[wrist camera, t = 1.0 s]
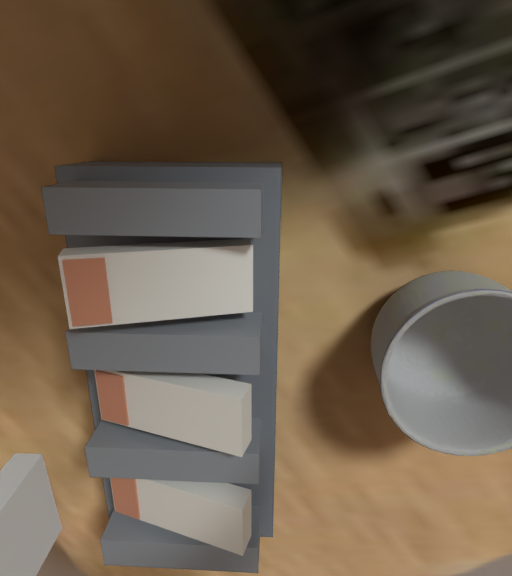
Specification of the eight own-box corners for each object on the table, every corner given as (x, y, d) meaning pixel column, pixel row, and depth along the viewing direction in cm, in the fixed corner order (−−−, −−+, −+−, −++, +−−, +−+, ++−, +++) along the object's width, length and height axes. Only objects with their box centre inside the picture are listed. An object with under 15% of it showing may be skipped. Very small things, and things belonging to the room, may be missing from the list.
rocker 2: (110, 354, 28) (91, 367, 26) (251, 383, 24) (240, 400, 23) (116, 405, 29) (99, 420, 27) (251, 439, 26) (240, 458, 24)
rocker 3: (122, 452, 30) (107, 469, 29) (251, 489, 27) (241, 511, 26) (128, 494, 32) (113, 512, 30) (251, 535, 28) (241, 557, 27)
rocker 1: (63, 248, 22) (57, 256, 21) (246, 238, 24) (253, 245, 23) (74, 317, 24) (68, 330, 22) (246, 301, 26) (253, 312, 24)
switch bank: (88, 161, 29) (14, 170, 21) (281, 162, 28) (282, 172, 20) (129, 480, 38) (89, 571, 30) (273, 487, 37) (272, 581, 29)
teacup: (379, 400, 34) (407, 475, 26) (340, 282, 31) (360, 329, 23) (559, 351, 32) (647, 418, 24) (538, 217, 28) (632, 246, 21)
